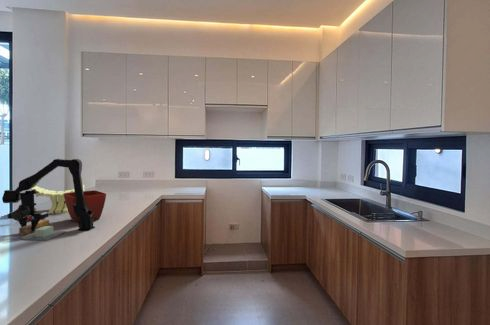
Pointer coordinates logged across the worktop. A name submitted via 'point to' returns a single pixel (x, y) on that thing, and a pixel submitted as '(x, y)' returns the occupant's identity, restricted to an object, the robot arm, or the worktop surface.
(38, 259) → the worktop surface
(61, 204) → the slatted curved stool
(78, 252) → the worktop surface
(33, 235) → the baseplate
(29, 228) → the walnut brick
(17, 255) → the worktop surface
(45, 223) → the orange brick
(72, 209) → the plant pot
